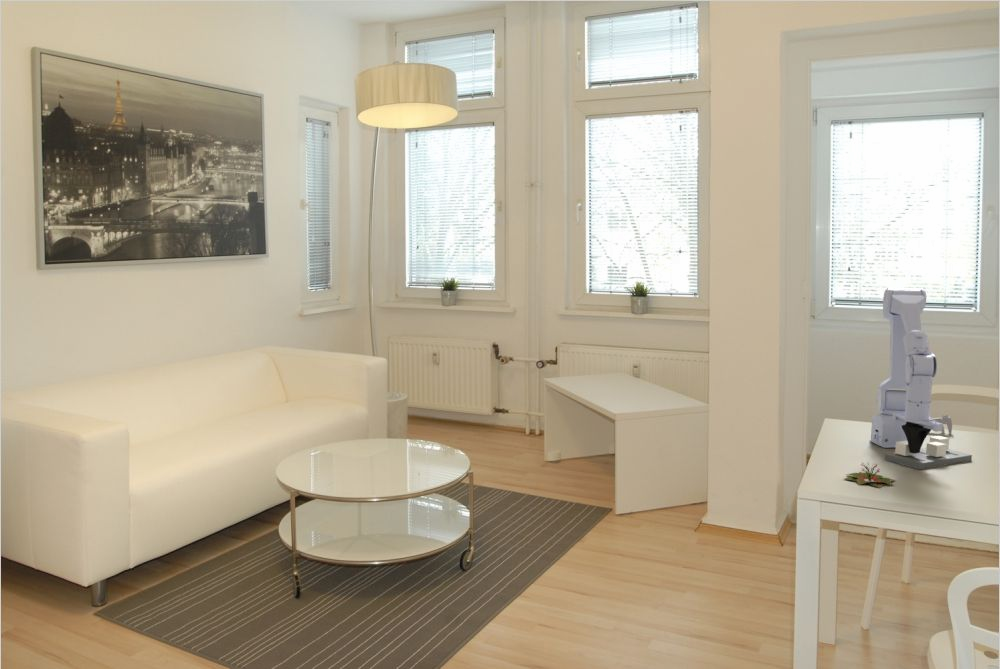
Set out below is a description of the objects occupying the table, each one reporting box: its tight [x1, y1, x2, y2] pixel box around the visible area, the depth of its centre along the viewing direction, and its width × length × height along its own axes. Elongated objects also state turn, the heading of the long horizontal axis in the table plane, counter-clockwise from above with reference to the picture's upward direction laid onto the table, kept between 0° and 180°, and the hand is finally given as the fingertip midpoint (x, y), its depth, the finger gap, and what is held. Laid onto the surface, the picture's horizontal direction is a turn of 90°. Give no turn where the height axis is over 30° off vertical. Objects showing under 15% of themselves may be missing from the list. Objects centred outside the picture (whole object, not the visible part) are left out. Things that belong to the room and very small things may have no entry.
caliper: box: [931, 413, 953, 435], centre depth 251 cm, size 20×1×6 cm, turn 72°
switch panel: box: [885, 447, 973, 470], centre depth 219 cm, size 20×10×2 cm, turn 115°
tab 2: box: [925, 441, 947, 457], centre depth 217 cm, size 4×3×3 cm
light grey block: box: [894, 441, 915, 456], centre depth 218 cm, size 4×3×3 cm
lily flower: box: [844, 462, 895, 489], centre depth 201 cm, size 12×12×5 cm
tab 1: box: [929, 435, 950, 449], centre depth 223 cm, size 4×3×3 cm
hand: (914, 452), depth 215 cm, fingers closed
